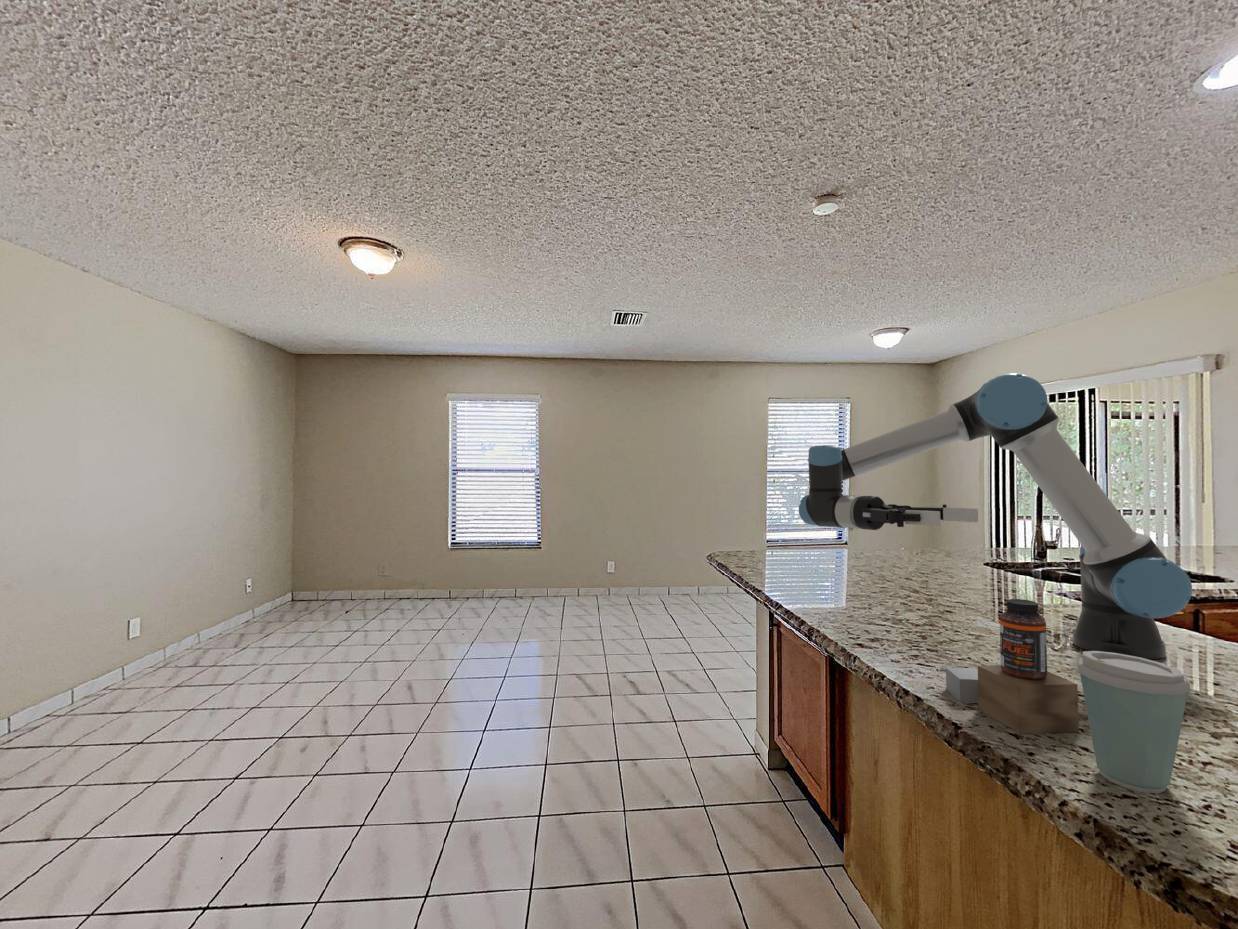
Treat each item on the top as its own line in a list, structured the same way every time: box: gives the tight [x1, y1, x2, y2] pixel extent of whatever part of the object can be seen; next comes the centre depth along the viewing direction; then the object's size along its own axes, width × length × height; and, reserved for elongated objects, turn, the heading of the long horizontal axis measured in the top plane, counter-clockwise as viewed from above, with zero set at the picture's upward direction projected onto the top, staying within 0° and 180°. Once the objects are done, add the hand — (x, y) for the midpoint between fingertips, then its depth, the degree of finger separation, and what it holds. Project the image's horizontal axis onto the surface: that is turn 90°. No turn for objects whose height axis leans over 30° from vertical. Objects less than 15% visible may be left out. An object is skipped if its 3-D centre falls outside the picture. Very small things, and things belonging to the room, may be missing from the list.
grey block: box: [945, 666, 979, 704], centre depth 98 cm, size 6×6×4 cm
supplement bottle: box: [999, 598, 1048, 680], centre depth 89 cm, size 6×6×11 cm
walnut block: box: [977, 664, 1080, 735], centre depth 88 cm, size 9×9×7 cm
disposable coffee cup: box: [1076, 650, 1192, 794], centre depth 70 cm, size 11×11×15 cm
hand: (959, 517), depth 110 cm, fingers open, 13 cm apart
